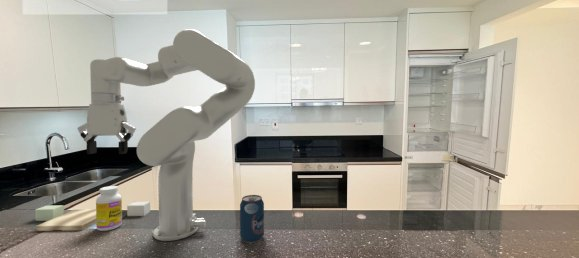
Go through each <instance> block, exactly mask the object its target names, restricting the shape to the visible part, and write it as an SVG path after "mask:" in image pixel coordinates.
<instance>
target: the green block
mask: <svg viewBox="0 0 579 258" xmlns="http://www.w3.org/2000/svg"><path fill="white" fill-rule="evenodd" d="M34 214H35V221H36V222H37V221H38V222H40V221H45V222H47V221H49V220H51V219H54V218H56V217H58V216H61V215H63V214H65V206H64V205H61V204H60V205H56V204H55V205H44V206H41V207H39V208H36V209H35V210H34Z"/></svg>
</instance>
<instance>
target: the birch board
mask: <svg viewBox="0 0 579 258" xmlns="http://www.w3.org/2000/svg"><path fill="white" fill-rule="evenodd" d="M94 224H96V208H94V209H93V208H90V209H82V208H81V209H72V210H69V211H67V212H66V213H65V212H64V214H63V215H61V216H58V217H56V218H54V219H51V220H49V221H45V222H43V223H39V224H38V225H35V231H36V232H46V231H51V232H52V231H53V230H62V231H84V230H85V229H87V228H88V227H91V226H92V225H94ZM83 229H84V230H83Z"/></svg>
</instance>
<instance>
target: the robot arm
mask: <svg viewBox="0 0 579 258" xmlns="http://www.w3.org/2000/svg"><path fill="white" fill-rule="evenodd" d="M157 59H158V61H155V62H151V63H145V64H144V63H142V62H138V61H135V60H132V59H128V58H125V57H119V56H115V57H110V58H108V59H100V58H99V59H97V58H96V59H93V60H91V62H90V64H89V70H90V75H89V76H90V103H89V105H88V109H87V116H86V123H84V124H82V125H80V126H78V127H77V130H78V133H79V135H80V137H81V138H83V141H85V142H86V154H87V155H93V154H96V153H97V152H98V151H97V150H98V149H97V148H98V145H97V140H96V139H97V138H98V136H108V137H109V136H110V137H111V136H116V137H117V138H118V140H119V141H118V155H123V154H127V153H128V150H129V146H128V145H129V143H128V142H129V141H130V139H132V137H133V136H134V133H135V132H136V130H137V128H136V127H135V126H133V125H131V124H130V123H128V119H127V112H126V109H125V106H124V104H122V102H123V101H125V97H124V96H122V94H121V91H122V89H121V84H124V85H125V84H126V85H132V86H136V87H151V86H154V85H155V86H156V85H160V84H163V83H167V82H168V81H169V80H171V79H172V78H173V77H174V76H177V75H181V74H186V73H190V72H195V71H199V72H201V73H202V74H204V75H206V76H207V77H209V78H210V79H212V80H213V81H215V82H217V83H219V84H222V85H224V88H222V89H221V90H219V91H217V92H214V94H212V95H211V96H210V97H209V98H208V99H206V101H204V102H203V103H202V104H201V103H200V105H198V106H181V107H178V108H175V109H173V110H172V111H170V112H169V113H167V114H166V115H164V116H163V118H161V119H160V120H159V121H158V122H156V123H155V124H154V125H153V126H152V127H150V129H148V130H147V131H146V132H145V133H143V135H142V136H141V137H140V139H139V140H138V143H137V145H136V155H137V157H138V159H139V161H141V162H142V163H143V164H145V165H147V166H149V167H159V171H158V177H157V178H158V185H157V186H158V191H157V192H158V226H157V227H156V228H155V229H153V232H152V234H153V238H154V239H155V240H157V241H162V242H168V241H169V242H171V241H172V242H173V241H177V240H181V239H185V238H188V237H190V236H192V235H193V234H195V233H196V232H197V231H198V230H199V228H206V225H207V220H205V217H201V218H200V217H199V218H198V217H197V213H194V211H193V208H194V207H193V202H194V201H193V200H194V199H193V198H194V197H193V167H194V158H195V153H196V152H195V151H196V141H201V140H202V141H203V140H206V139H208V138H209V137H211V136H212V135H213V134H214V133H215V132H217V130H219V129H220V128H221V127H222V126H224V125H225V124H226V123H227V122H229V120H231V119H232V118H233V117H234V116H235V115H236V114H238V113H239V112H241V110H242V109H243V108H245V107H246V106H247V104H249V102H250V100H252V97H253V95H254V92H255V87H256V80H255V75H254V72H253V70H252V69H251V67H250V66H249V64H248V63H246V62H245V61H244V60H242V59H241V58H240V57H239V56H237V55H236V54H234V53H233V52H231V51H230V50H228V49H227V48H225V47H223V46H222V45H220V44H218V43H217V42H215V41H214V40H212V39H210V38H209V37H207V36H205V35H204V34H203V33H201V32H200V31H198V30H196V29H189V28H188V29H184V30H181V31H179V32H177V34H176V35H175V37H174V39H173V41H172V45H168V46H164V47H161V48H160V49H159V50H158V53H157Z"/></svg>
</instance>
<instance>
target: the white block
mask: <svg viewBox="0 0 579 258" xmlns="http://www.w3.org/2000/svg"><path fill="white" fill-rule="evenodd" d="M126 212H127V217H145V216H147V215H148V214H149V213H151V201H133V202H131V203H129V204H128V205H126Z"/></svg>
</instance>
